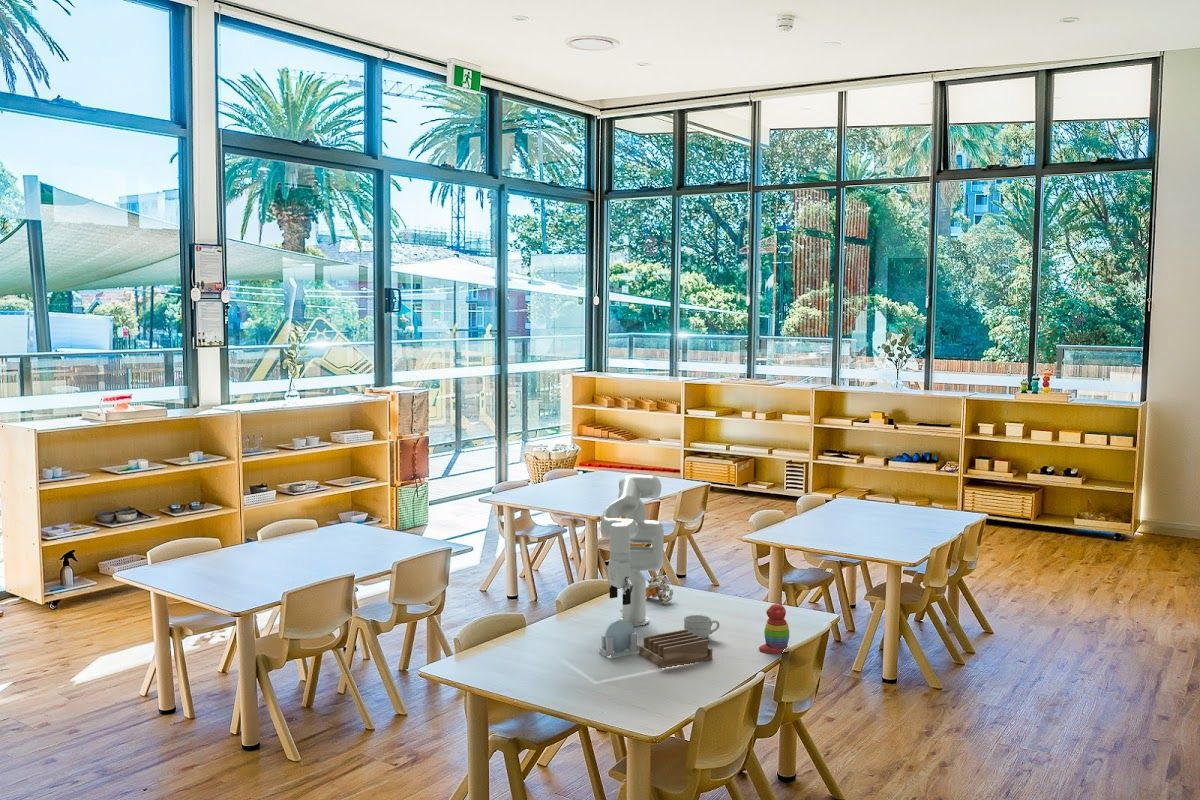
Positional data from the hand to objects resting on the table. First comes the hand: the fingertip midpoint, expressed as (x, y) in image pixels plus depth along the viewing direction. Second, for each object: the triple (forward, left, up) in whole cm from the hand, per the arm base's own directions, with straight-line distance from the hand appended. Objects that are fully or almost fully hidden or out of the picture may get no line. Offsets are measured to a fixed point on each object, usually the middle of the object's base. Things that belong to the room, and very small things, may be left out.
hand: (620, 601), depth 381 cm
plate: (0, 0, -19) cm, 19 cm away
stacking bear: (+25, +54, -21) cm, 63 cm away
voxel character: (-50, +47, -21) cm, 72 cm away
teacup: (0, +37, -21) cm, 42 cm away
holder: (0, 0, -20) cm, 20 cm away
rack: (+14, +16, -20) cm, 29 cm away
